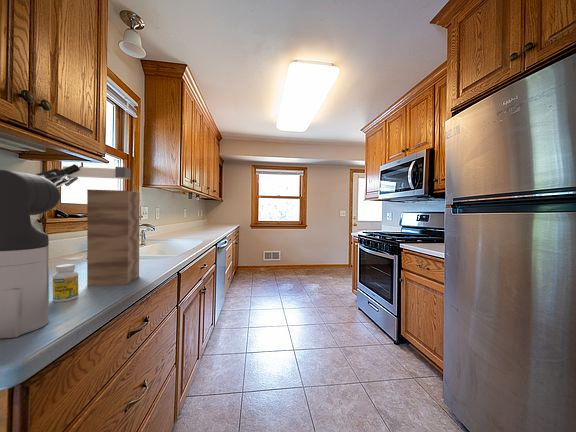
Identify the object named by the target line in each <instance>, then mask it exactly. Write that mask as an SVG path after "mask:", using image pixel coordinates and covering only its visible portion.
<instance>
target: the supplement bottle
mask: <svg viewBox="0 0 576 432" xmlns="http://www.w3.org/2000/svg"><path fill="white" fill-rule="evenodd" d="M75 269H76V264H75V263H66V264H65V263H64V264H59V265H55V273H54V274H53V275H52V301H53V302H56V303H60V302H62V303H63V302H68V301H72V300H76V299H77V298H78V297H79V273H78V271H76V270H75Z"/></svg>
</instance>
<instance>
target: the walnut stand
mask: <svg viewBox="0 0 576 432" xmlns="http://www.w3.org/2000/svg"><path fill="white" fill-rule="evenodd" d="M86 199H87V200H86V201H87V203H86V204H87V206H86V207H87V209H86V216H87V218H86V219H87V223H86V224H87V225H86V227H87V229H86V231H87V234H86V235H87V236H86V239H87V240H86V241H87V242H86V243H87V244H86V245H87V246H86V248H87V250H86V252H87V254H86V256H87V258H86V261H87V263H86V266H87V267H86V268H87V269H86V270H87V271H86V272H87V273H86V274H87V277H86V279H87V280H86V282H87V283H86V285H87V286H86V287H95V286H99V287H100V286H119V285H121V286H122V285H124V286H125V285H129V284H131V283H132V282H134V281H135V280H136V279H138V278H139V277H140V201H141V200H140V192H137V191H131V190H118V189H117V190H113V189H112V190H110V189H87V197H86Z"/></svg>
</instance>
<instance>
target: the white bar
mask: <svg viewBox="0 0 576 432" xmlns="http://www.w3.org/2000/svg"><path fill="white" fill-rule="evenodd" d="M67 167H68V166H66V165H65V166H63V165H62V169H65V168H67ZM78 167H79V168H80V170H79V171H77V172H75V173H72V174H70V175H68V176H69V177H78V178H93V179H94V178H96V179H98V178H99V179H117V180H118V179H121V180H131V178H132V177H131V172H132V171H131V170H132V169H131V168H129V167H126V166H115V168H107V167H106V168H105V167H104V168H103V167H86V166H83V167H80V166H78Z"/></svg>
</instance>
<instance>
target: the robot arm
mask: <svg viewBox="0 0 576 432" xmlns="http://www.w3.org/2000/svg"><path fill="white" fill-rule="evenodd" d="M66 167H67V168H65V169H63V168H53V169H50V170H46V171H43V172H39V173H35V174H34V173H29V172H28V173H27V172H22V171H15V170H9V169H0V339H10V338H17V337H20V336H21V335H24V334H27V333H30V332H33V331H36V330H39V329H41V328H42V327H44V326H46V325H47V324H49V321H50V313H49V312H50V311H49V309H50V304H49V303H50V301H49V300H50V299H49V297H50V296H49V295H50V293H49V292H50V291H49V288H50V285H49V284H50V283H49V280H50V279H49V278H50V277H49V276H50V274H49V273H50V272H49V263H50V262H49V258H50V256H49V255H50V254H49V253H50V250H49V249H50V248H49V247H50V246H49V243H50V242H49V241H50V239H49V235H48V234H47V233H46V232H44V231H40V230H39V229H36V228H35V227H34V225H33V224H32V221H31V216H36V215H42V214H45V213H47V212H49V211H51V210H53V209H54V208H55V207H56V206H57V205H58V204H59V202H60V200H61V192H60V190H59V188H60V187H62V186H63V185H65V186H66V187H68V186H71V184H73V183H75V182H76V181H77V180H78V179H79V177H69V176H68V175H70V174H72V173H75V172H77V171H79V170H80V168H79V167H84V166H83V165H80V166H79V165H78V164H76V163H74V164H72V165H70V166H66Z"/></svg>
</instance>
